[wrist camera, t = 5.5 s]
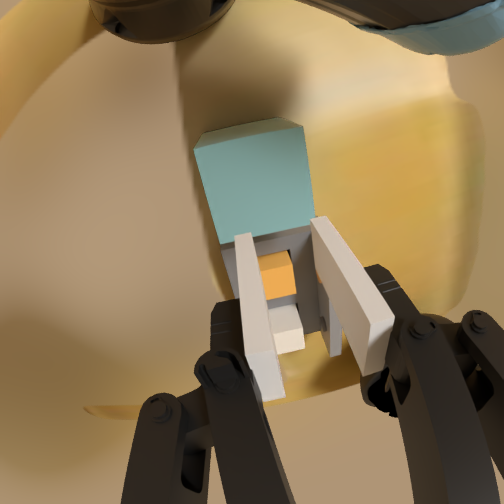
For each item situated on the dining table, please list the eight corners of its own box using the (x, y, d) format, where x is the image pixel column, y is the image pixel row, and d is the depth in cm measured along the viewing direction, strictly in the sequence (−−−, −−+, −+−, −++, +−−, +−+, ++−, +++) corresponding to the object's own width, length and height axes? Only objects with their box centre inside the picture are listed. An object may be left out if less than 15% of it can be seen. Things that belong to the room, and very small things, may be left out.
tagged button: (250, 249, 34) (254, 272, 30) (283, 241, 34) (292, 264, 29) (256, 276, 36) (261, 301, 32) (288, 269, 36) (296, 293, 32)
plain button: (263, 308, 36) (268, 335, 32) (294, 301, 36) (302, 327, 32) (268, 328, 39) (273, 355, 34) (297, 322, 38) (305, 348, 34)
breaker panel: (220, 237, 33) (220, 278, 26) (317, 216, 33) (341, 251, 26) (248, 331, 42) (254, 374, 35) (324, 313, 41) (341, 354, 34)
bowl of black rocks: (440, 331, 49) (482, 398, 33) (360, 378, 53) (389, 454, 37) (434, 267, 39) (501, 350, 23) (329, 330, 43) (368, 434, 27)
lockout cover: (202, 133, 27) (193, 149, 19) (279, 117, 27) (302, 126, 19) (220, 204, 31) (220, 244, 23) (292, 188, 31) (315, 223, 23)
